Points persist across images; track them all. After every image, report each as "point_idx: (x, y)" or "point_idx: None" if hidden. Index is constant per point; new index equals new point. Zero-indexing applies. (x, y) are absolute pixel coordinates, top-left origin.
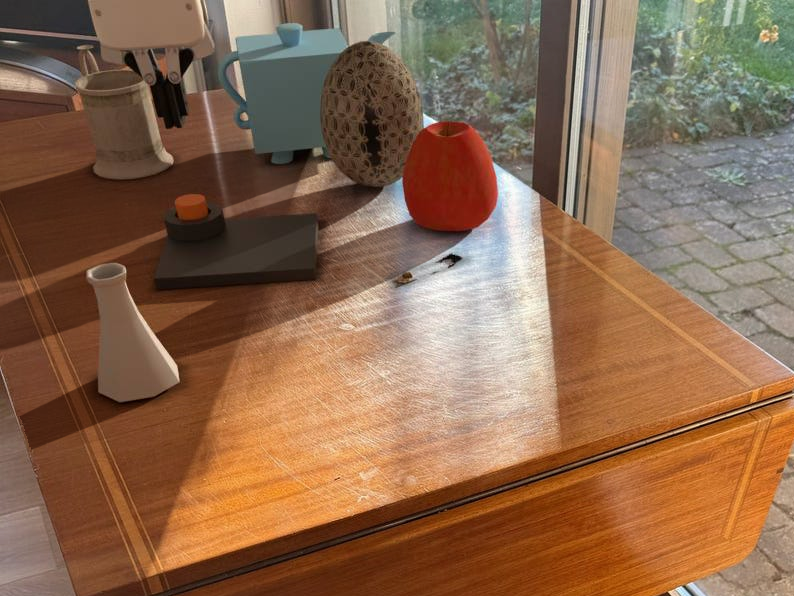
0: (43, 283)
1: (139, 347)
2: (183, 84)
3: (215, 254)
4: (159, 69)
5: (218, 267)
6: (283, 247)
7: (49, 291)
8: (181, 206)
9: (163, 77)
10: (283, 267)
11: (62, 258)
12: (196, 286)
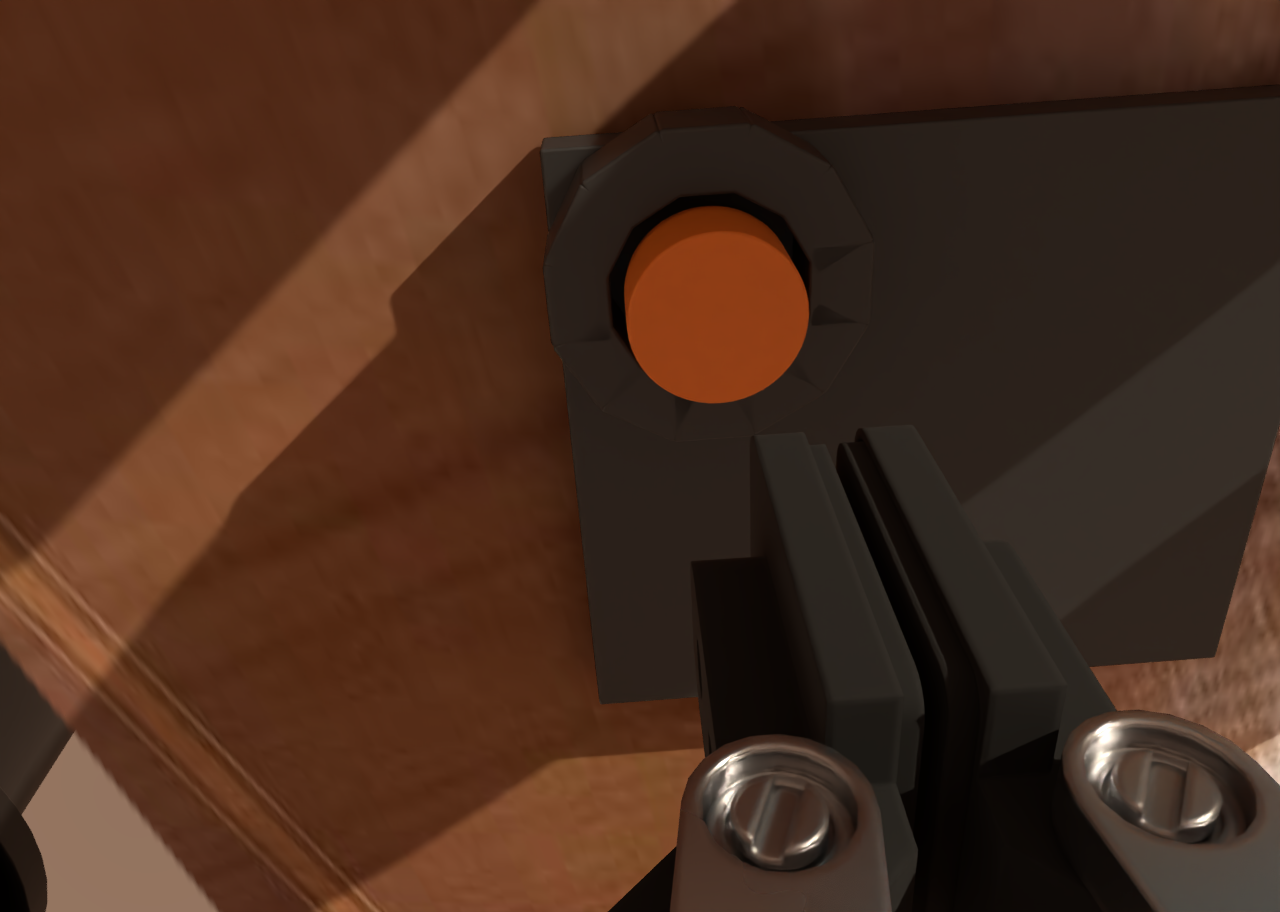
0: (114, 607)
1: None
2: (1108, 698)
3: None
4: (878, 815)
5: None
6: (1123, 485)
7: (177, 664)
8: (678, 394)
9: (897, 791)
10: (1100, 647)
11: (62, 394)
12: None
